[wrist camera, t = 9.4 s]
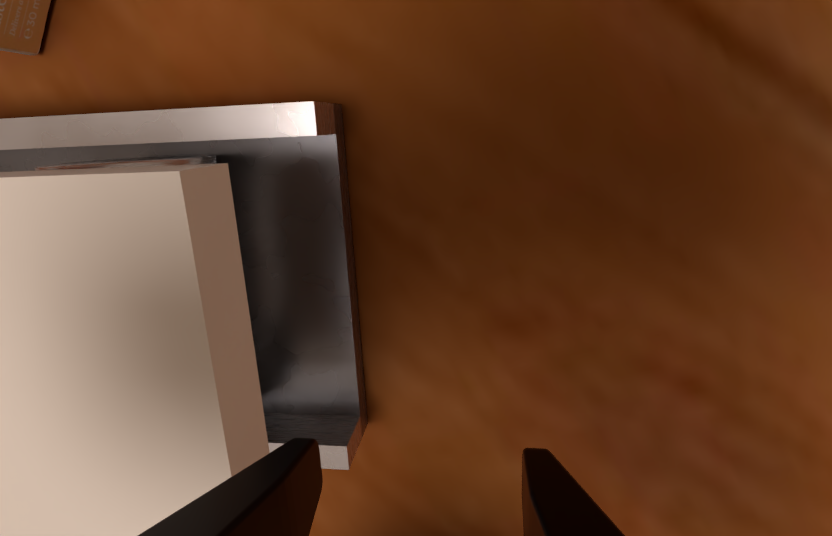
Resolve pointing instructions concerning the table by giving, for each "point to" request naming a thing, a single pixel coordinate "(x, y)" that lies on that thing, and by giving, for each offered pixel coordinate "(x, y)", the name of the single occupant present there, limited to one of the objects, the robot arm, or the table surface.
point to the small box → (22, 25)
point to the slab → (121, 347)
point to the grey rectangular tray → (254, 239)
